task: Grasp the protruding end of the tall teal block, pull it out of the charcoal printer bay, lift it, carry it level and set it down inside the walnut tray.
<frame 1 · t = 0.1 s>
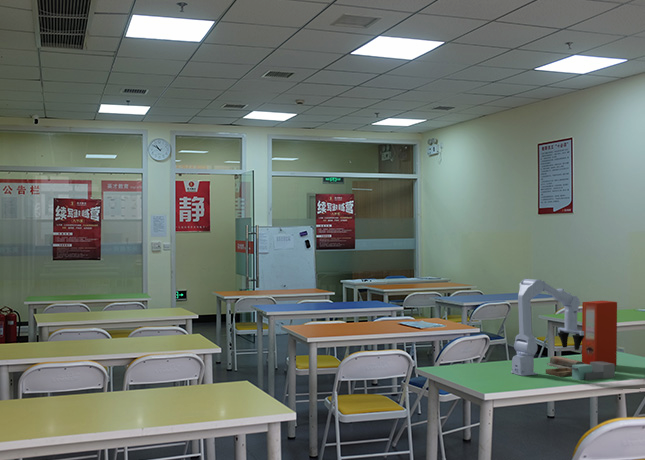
hand: (570, 348, 309), 10 cm above the table, tool pointing down, fingers open, 7 cm apart
tall teal block: (582, 378, 289), on the table
packaged product: (567, 369, 314), on the table
tray: (562, 374, 298), on the table
bay: (587, 377, 290), on the table
file binder: (599, 367, 317), on the table
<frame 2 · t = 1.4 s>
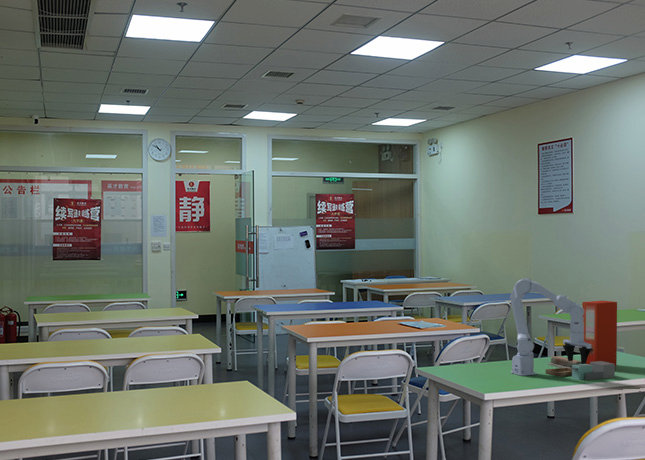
hand: (577, 362, 288), 7 cm above the table, tool pointing down, fingers open, 7 cm apart
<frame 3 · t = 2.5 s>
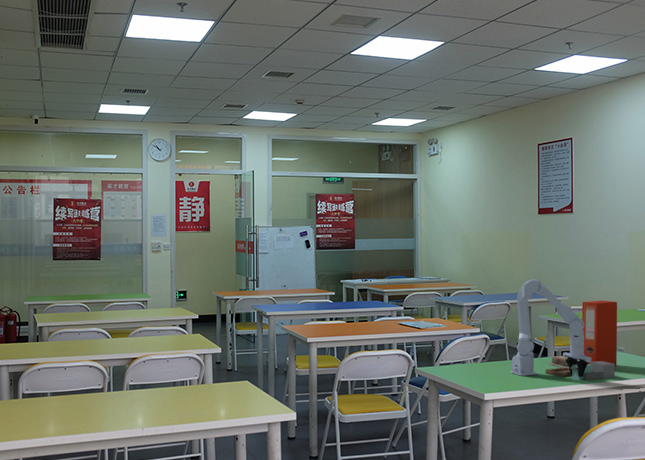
hand: (576, 375, 288), 1 cm above the table, tool pointing down, fingers closed on tall teal block, 4 cm apart
tall teal block: (582, 378, 289), on the table, touching gripper
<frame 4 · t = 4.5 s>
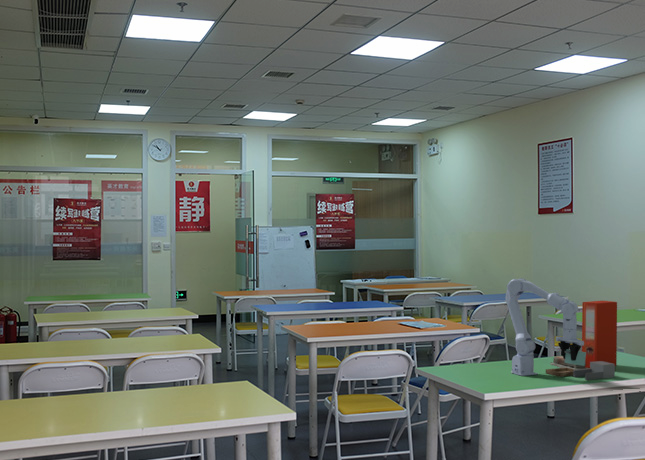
hand: (569, 359, 286), 9 cm above the table, tool pointing down, fingers closed on tall teal block, 4 cm apart
tall teal block: (574, 364, 287), point 7 cm above the table, tilted 10°, touching gripper
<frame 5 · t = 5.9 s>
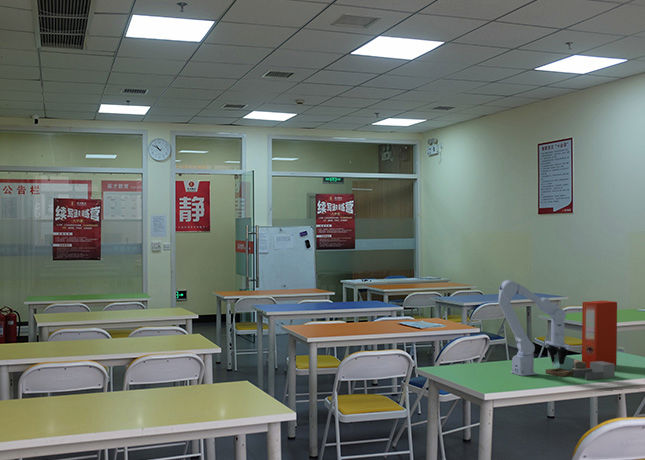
hand: (557, 363, 297), 5 cm above the table, tool pointing down, fingers closed on tall teal block, 4 cm apart
tall teal block: (562, 368, 298), point 2 cm above the table, tilted 17°, touching gripper
when the fingers open (3 cm above the table, at t = 6.7 s): tall teal block stays where it is, resting on tray.
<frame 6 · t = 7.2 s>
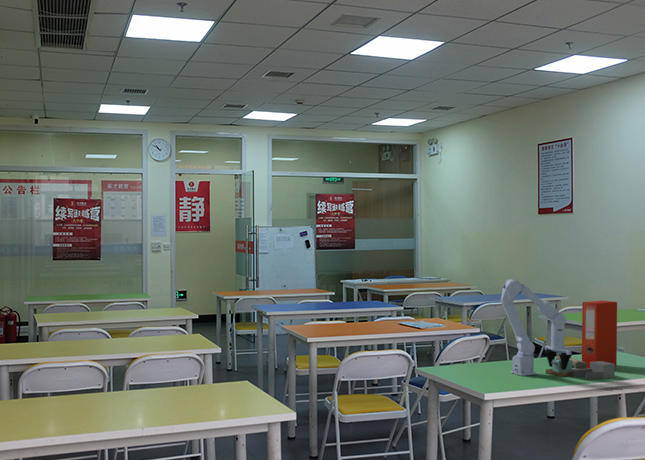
hand: (557, 367, 297), 3 cm above the table, tool pointing down, fingers open, 7 cm apart
tall teal block: (562, 372, 298), point 1 cm above the table, touching tray
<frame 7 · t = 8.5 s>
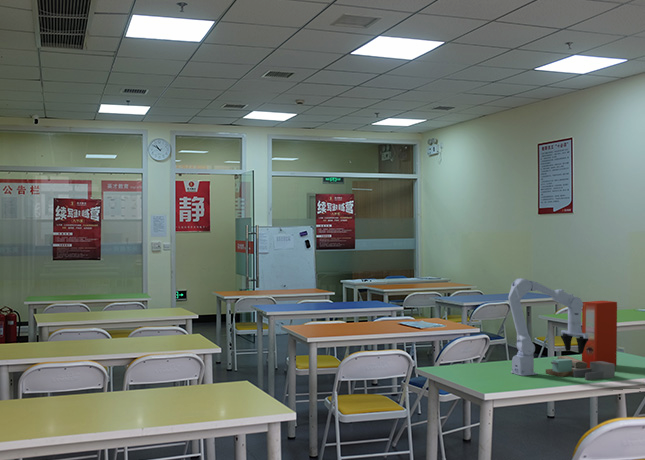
hand: (574, 352, 297), 10 cm above the table, tool pointing down, fingers open, 7 cm apart
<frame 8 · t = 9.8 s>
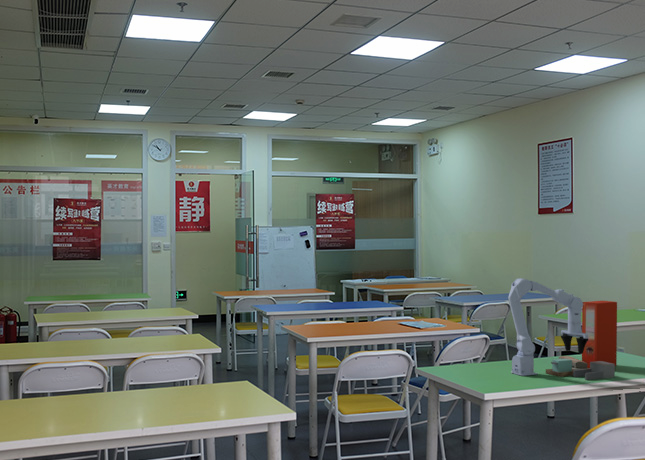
hand: (574, 352, 297), 10 cm above the table, tool pointing down, fingers open, 7 cm apart
at the end: tall teal block inside the target area on the tray (0.4 cm from its centre), point 0.6 cm above the tray's base; tall teal block tilted 0°; the gripper is holding nothing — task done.
